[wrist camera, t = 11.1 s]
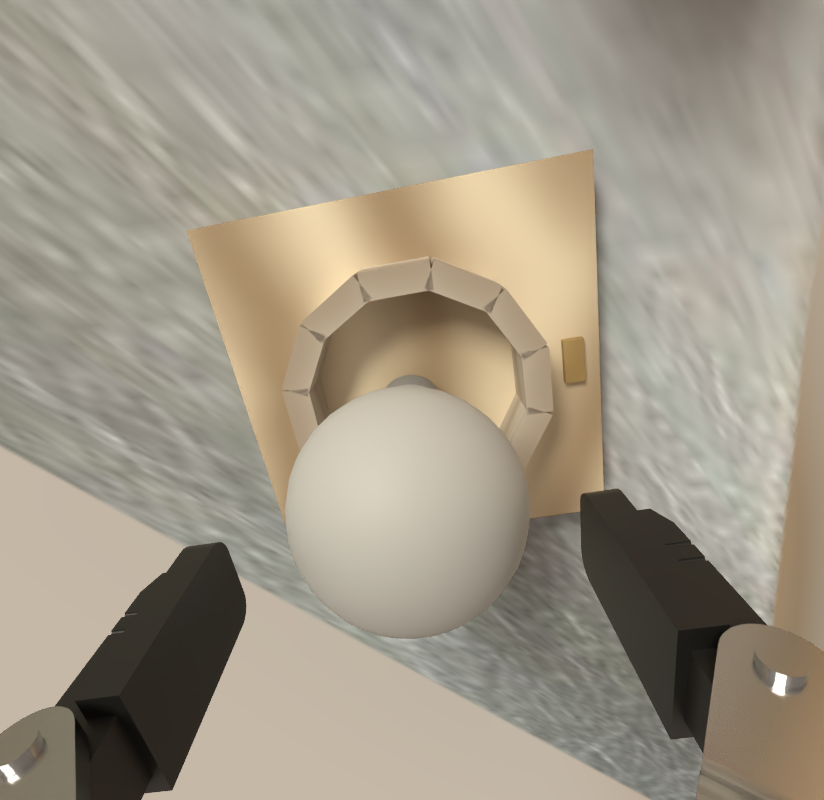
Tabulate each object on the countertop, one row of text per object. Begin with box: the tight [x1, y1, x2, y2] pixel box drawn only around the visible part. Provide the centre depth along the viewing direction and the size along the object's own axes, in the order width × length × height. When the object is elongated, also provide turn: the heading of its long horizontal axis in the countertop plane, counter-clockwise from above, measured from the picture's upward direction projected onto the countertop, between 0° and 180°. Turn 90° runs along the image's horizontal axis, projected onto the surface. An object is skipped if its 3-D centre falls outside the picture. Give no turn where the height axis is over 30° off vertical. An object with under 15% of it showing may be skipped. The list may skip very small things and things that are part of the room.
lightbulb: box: [285, 375, 530, 639], centre depth 14 cm, size 6×6×11 cm
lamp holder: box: [187, 149, 604, 525], centre depth 18 cm, size 15×15×4 cm
